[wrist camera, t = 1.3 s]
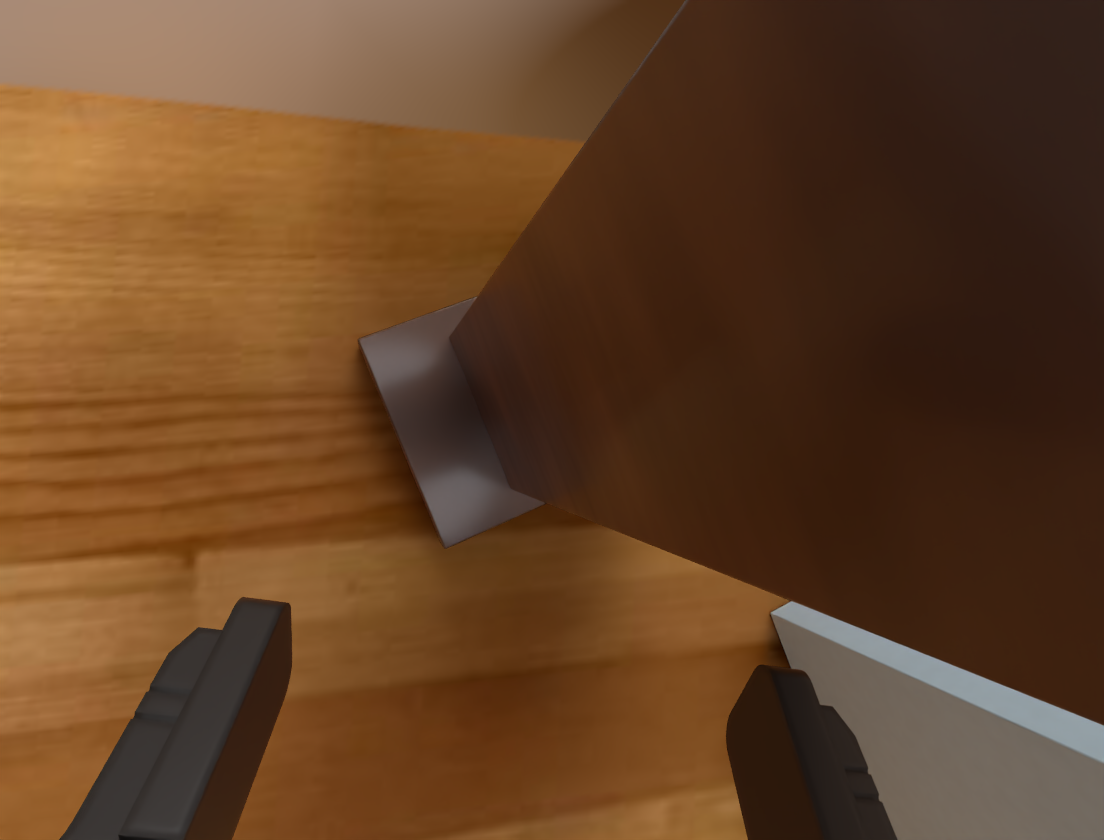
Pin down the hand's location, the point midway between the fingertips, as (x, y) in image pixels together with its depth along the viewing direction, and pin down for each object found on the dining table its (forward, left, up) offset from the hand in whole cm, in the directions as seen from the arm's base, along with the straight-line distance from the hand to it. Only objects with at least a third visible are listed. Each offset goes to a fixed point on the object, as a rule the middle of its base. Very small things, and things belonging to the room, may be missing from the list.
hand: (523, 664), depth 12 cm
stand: (-4, +6, -14) cm, 16 cm away
